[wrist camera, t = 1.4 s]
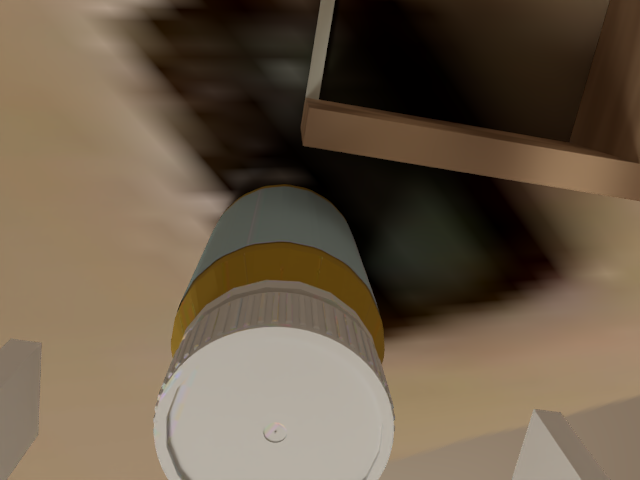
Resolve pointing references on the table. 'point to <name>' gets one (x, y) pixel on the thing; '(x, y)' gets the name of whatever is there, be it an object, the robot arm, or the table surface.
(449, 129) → the u rest
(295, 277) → the bottle
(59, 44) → the table surface
